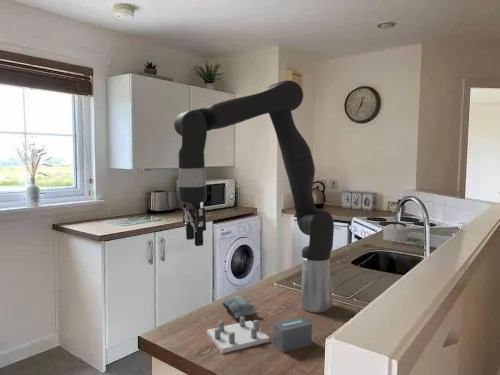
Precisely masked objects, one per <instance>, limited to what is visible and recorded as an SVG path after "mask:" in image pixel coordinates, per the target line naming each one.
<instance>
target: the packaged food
mask: <svg viewBox="0 0 500 375" xmlns="http://www.w3.org/2000/svg"><path fill="white" fill-rule="evenodd" d="M222 305H223V306H224V308H225V310H227V311H228V312H229V313H230V314H231V315H232V318H236V319H240V317H242V316H243V317H247V316H251V315H255V314H260V313H261V312H260V310H259V309H258V307H255V305H254V304H253V303H251V302H250V301H249V299H247V296H241V295H240V296H239V295H236V296H232V297H228V298H226V299H225V300H223V302H222Z"/></svg>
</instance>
